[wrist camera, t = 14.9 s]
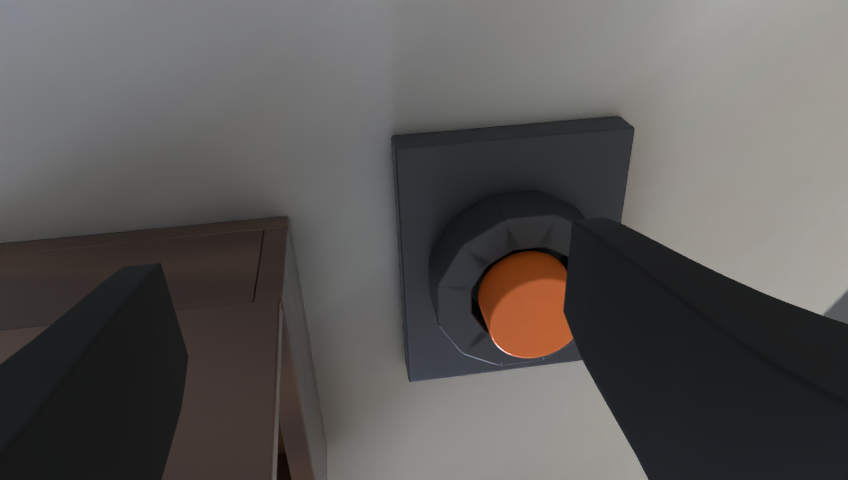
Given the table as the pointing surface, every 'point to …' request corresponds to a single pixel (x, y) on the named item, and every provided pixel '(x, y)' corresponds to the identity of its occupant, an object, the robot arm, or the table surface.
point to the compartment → (187, 300)
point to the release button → (526, 304)
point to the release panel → (492, 225)
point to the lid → (219, 391)
